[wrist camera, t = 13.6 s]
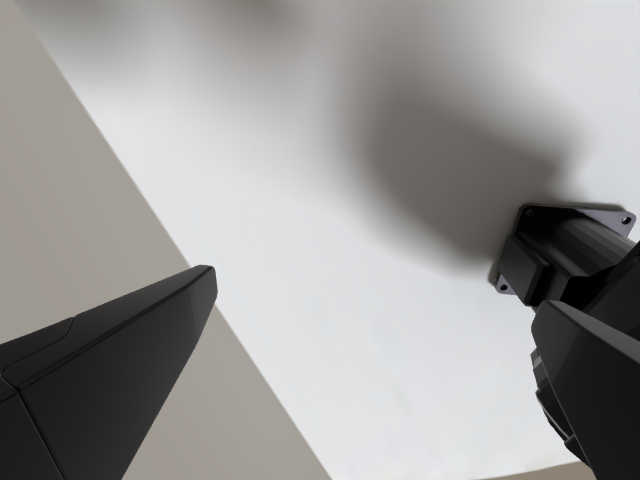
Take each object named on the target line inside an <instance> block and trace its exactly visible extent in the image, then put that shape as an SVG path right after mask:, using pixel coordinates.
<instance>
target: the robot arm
mask: <svg viewBox="0 0 640 480" xmlns="http://www.w3.org/2000/svg"><path fill="white" fill-rule="evenodd" d="M529 209H532V212H531V213H530V214H527V215H526V212H527V211H528V210H529ZM625 217H626V220H625V221H623V222H622V220H623V218H625ZM635 221H636V216H635V215H634V214H633V213H630V212H628V211H623V210H610V209H597V208H585V207H572V206H560V205H547V204H535V203H527V204H524V205H523V206H522V207H521V208H520V209H519V212H518V215H517V218H516V221H515V224H514V227H513V230H512V233H511V234H510V235H509V236H508V237H507V239H506V242H505V245H504V248H503V251H502V254H501V257H500V260H499V263H498V266H497V269H498V274H497V277H496V280H495V283H494V287H495V289H496V290H497V292H499V293H502V294H511V295H517V296H518V297H519V299H520V300H521V302H522V303H523V304H524V305H525V306H529V307H531V308H532V309H533V311H534V312H535V313H536V315H535V318H534V320H533V322H532V326H531V332H532V335H533V338H534V341H535V344H536V346H537V348H536V349H535V350H534V351H533V352H532V353H531V359H532V364H533V372H534V375H535V378H536V382H537V387H538V390H537V391H536V396H537V400H538V401H539V403H540V405H541V406H542V408H543V411H544V414H545V415H546V417H547V419H548V422H549V423H550V425H551V426H552V427H553V428H554V429H555V431H556V432H557V433H558V435H559V436H560V437H561V438H562V439H563V440H564V441H565V442H564V444H565V446H566V448H567V449H568V450H569V451H570V452H572V453H573V454H574V455H575V456H576V457H578V458H579V459H580V460H581V461H582V462H584V463H585V464H586V465H587V466H589V467H590V468H591V469H592V471H593V473H594V475H595V477H596V479H597V480H640V241H639V242H638V243H635V242H633V241H631V240H630V239H628V238H627V237H628V235H629V233H630V231H631V229H632V227H633V225H634V223H635ZM504 284H505V286H504V287H501V285H504ZM217 292H218V290H217V281H216V272H215V269H214V267H213V266H208V265H198V266H195V267H193V268H190V269H188V270H185V271H183V272H181V273H178V274H176V275H173V276H171V277H168V278H166V279H163V280H161V281H158V282H156V283H154V284H151V285H149V286H146V287H144V288H141V289H139V290H136V291H134V292H132V293H129V294H127V295H124V296H122V297H119V298H117V299H114V300H112V301H110V302H107V303H104V304H102V305H100V306H97V307H95V308H92V309H90V310H88V311H85V312H82V313H80V314H78V315H76V316H75V318H74V317H71V318H68V319H65V320H63V321H60V322H58V323H55V324H53V325H50V326H48V327H45V328H43V329H40V330H38V331H35V332H33V333H30V334H27V335H25V336H22V337H19V338H17V339H14V340H11V341H8V342H6V343H3V344H0V480H121V479H122V478H123V476H124V474H125V472H126V470H127V469H128V467H129V465H130V463H131V462H132V460H133V458H134V456H135V454H136V453H137V451H138V449H139V447H140V445H141V444H142V442H143V440H144V438H145V436H146V435H147V433H148V431H149V429H150V427H151V426H152V424H153V422H154V420H155V418H156V417H157V415H158V413H159V411H160V409H161V408H162V406H163V404H164V402H165V400H166V399H167V397H168V395H169V393H170V392H171V390H172V388H173V386H174V384H175V383H176V381H177V379H178V377H179V375H180V373H181V372H182V370H183V368H184V367H185V365H186V363H187V361H188V359H189V358H190V356H191V354H192V352H193V350H194V349H195V346H196V344H197V343H198V341H199V338H200V336H201V334H202V331H203V329H204V327H205V324H206V322H207V319H208V317H209V315H210V312H211V310H212V307H213V305H214V303H215V300H216V298H217Z"/></svg>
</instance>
